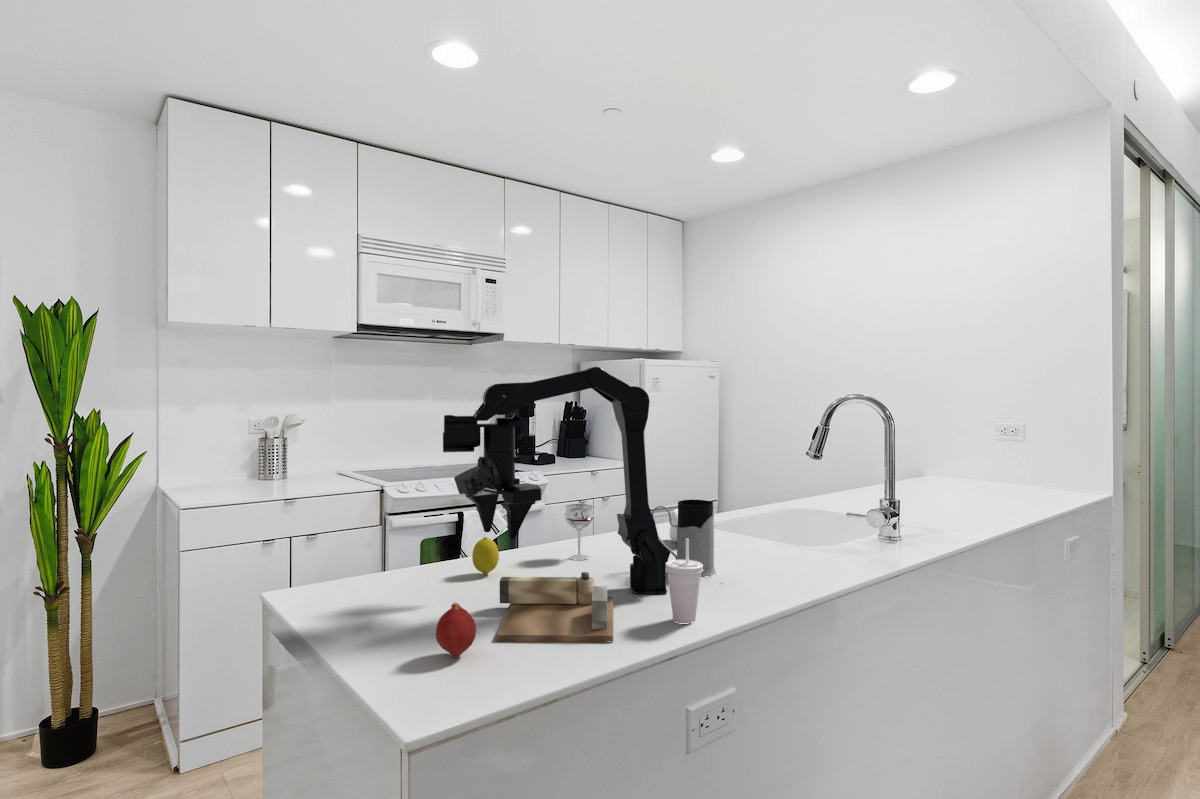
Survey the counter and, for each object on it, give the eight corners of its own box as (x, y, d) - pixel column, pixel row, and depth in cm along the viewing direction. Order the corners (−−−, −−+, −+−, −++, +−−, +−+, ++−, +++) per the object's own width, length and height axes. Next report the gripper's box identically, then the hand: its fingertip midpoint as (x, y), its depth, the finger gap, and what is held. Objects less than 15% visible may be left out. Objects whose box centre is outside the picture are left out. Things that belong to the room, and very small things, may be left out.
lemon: (493, 579, 141) (493, 540, 141) (468, 577, 142) (468, 539, 142) (502, 572, 146) (502, 535, 146) (478, 570, 147) (478, 533, 147)
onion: (439, 649, 103) (439, 596, 103) (477, 648, 103) (477, 595, 103) (433, 664, 97) (432, 608, 97) (474, 663, 97) (474, 607, 97)
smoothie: (693, 630, 111) (693, 544, 111) (658, 622, 114) (658, 539, 114) (709, 618, 116) (709, 537, 116) (675, 612, 120) (675, 532, 120)
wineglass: (576, 552, 163) (576, 503, 163) (599, 557, 159) (599, 505, 159) (558, 558, 158) (558, 506, 158) (581, 563, 154) (581, 509, 154)
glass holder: (710, 579, 141) (711, 506, 140) (645, 572, 146) (645, 502, 146) (719, 569, 149) (720, 500, 148) (657, 563, 154) (657, 496, 154)
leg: (594, 598, 123) (594, 576, 123) (593, 604, 120) (593, 581, 120) (502, 598, 124) (502, 576, 124) (499, 603, 120) (499, 581, 120)
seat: (613, 602, 126) (613, 567, 125) (613, 642, 106) (613, 601, 105) (515, 601, 126) (515, 566, 126) (497, 641, 106) (497, 600, 106)
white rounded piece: (702, 551, 165) (702, 514, 165) (657, 545, 171) (657, 510, 171) (718, 542, 175) (719, 507, 175) (676, 537, 181) (676, 503, 181)
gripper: (435, 450, 128) (435, 533, 128) (490, 457, 114) (490, 551, 114) (485, 447, 135) (486, 525, 135) (543, 453, 121) (543, 541, 122)
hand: (499, 535), depth 126 cm, fingers open, 8 cm apart
